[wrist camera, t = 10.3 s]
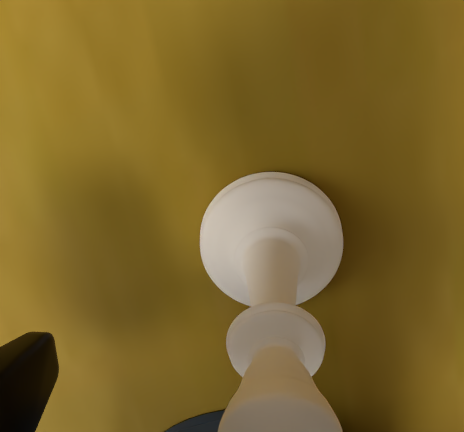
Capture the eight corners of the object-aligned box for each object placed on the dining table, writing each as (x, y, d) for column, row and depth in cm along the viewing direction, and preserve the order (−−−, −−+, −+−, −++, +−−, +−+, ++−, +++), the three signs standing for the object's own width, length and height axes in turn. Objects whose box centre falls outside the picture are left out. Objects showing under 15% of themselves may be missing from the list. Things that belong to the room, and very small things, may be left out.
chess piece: (340, 164, 12) (574, 444, 3) (342, 296, 14) (499, 735, 5) (190, 178, 13) (7, 452, 4) (210, 304, 15) (118, 712, 5)
